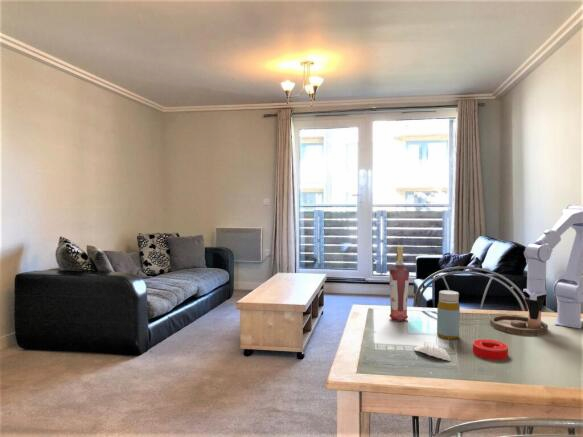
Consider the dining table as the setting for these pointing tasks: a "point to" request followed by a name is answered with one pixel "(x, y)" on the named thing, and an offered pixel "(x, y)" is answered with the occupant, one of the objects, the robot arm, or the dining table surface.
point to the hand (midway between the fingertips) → (535, 316)
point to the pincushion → (433, 351)
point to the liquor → (399, 288)
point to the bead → (534, 322)
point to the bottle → (448, 314)
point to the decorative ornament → (490, 349)
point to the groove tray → (516, 325)
